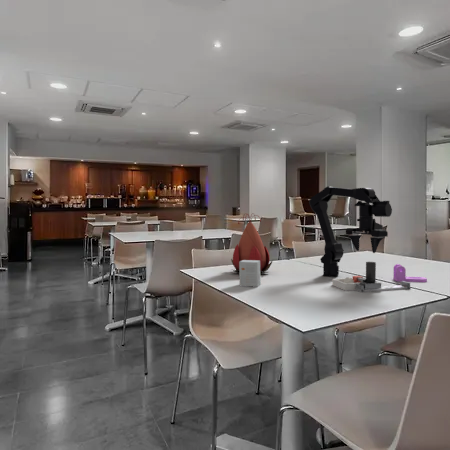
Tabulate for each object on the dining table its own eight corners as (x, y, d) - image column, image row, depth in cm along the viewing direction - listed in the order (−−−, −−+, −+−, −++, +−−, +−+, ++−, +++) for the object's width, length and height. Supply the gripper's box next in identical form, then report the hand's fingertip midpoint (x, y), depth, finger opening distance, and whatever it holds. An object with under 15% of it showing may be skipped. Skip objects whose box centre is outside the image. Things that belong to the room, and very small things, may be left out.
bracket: (396, 281, 165) (396, 265, 165) (393, 279, 171) (393, 263, 170) (428, 282, 162) (428, 266, 162) (424, 280, 168) (424, 264, 167)
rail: (404, 286, 154) (404, 281, 154) (410, 288, 150) (410, 282, 150) (355, 290, 149) (355, 284, 149) (360, 292, 146) (360, 285, 146)
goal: (347, 284, 160) (347, 278, 160) (361, 289, 150) (361, 283, 150) (332, 285, 159) (332, 279, 159) (344, 290, 149) (344, 284, 149)
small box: (260, 284, 161) (260, 260, 161) (257, 287, 156) (257, 262, 155) (242, 283, 164) (242, 259, 163) (239, 286, 158) (238, 261, 158)
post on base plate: (365, 284, 158) (365, 258, 157) (381, 289, 148) (381, 262, 147) (350, 285, 157) (350, 259, 156) (365, 291, 146) (365, 263, 145)
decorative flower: (239, 268, 204) (238, 212, 202) (279, 270, 194) (279, 212, 192) (221, 275, 184) (220, 213, 183) (265, 278, 174) (265, 214, 173)
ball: (356, 278, 155) (354, 288, 155) (347, 276, 158) (345, 285, 158) (352, 278, 152) (350, 288, 152) (342, 276, 155) (341, 285, 155)
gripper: (396, 216, 160) (396, 252, 161) (362, 215, 177) (362, 248, 178) (378, 217, 155) (378, 254, 156) (345, 216, 172) (344, 250, 172)
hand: (365, 251), depth 166 cm, fingers open, 9 cm apart
